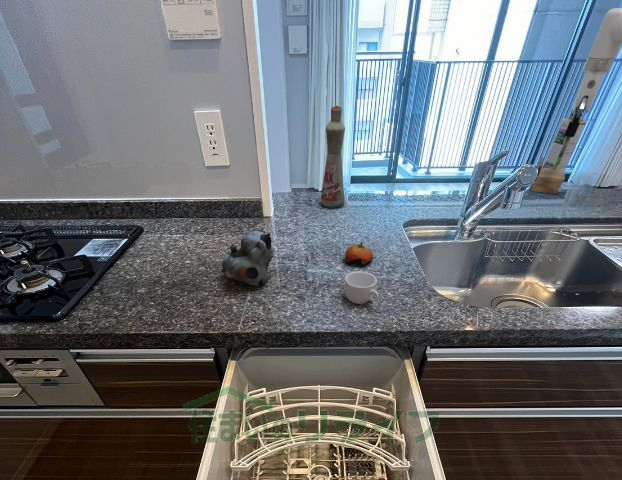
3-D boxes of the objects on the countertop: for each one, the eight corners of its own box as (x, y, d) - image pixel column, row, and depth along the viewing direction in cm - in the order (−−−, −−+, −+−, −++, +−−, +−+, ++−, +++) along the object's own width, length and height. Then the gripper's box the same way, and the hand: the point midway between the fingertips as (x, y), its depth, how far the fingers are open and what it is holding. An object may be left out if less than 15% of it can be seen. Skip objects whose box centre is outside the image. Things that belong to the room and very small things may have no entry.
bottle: (349, 206, 132) (355, 106, 111) (327, 210, 129) (329, 109, 108) (337, 198, 137) (342, 101, 116) (316, 202, 134) (316, 104, 113)
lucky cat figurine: (220, 269, 102) (232, 216, 96) (261, 283, 106) (276, 232, 100) (219, 280, 89) (233, 220, 83) (266, 295, 93) (283, 239, 87)
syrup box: (542, 166, 138) (562, 118, 127) (554, 164, 140) (574, 116, 129) (554, 170, 135) (575, 121, 124) (566, 168, 136) (588, 119, 125)
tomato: (381, 258, 102) (367, 241, 97) (364, 279, 104) (349, 263, 99) (366, 251, 108) (352, 234, 103) (351, 270, 109) (336, 255, 105)
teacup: (337, 298, 92) (338, 278, 88) (359, 287, 95) (361, 268, 91) (365, 315, 87) (367, 295, 83) (387, 304, 90) (390, 283, 86)
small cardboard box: (558, 184, 145) (569, 160, 139) (557, 194, 138) (569, 169, 131) (531, 181, 148) (541, 157, 141) (529, 190, 141) (539, 166, 134)
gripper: (612, 69, 110) (580, 140, 123) (609, 63, 120) (580, 129, 134) (585, 68, 112) (556, 138, 125) (584, 62, 122) (558, 127, 136)
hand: (569, 133), depth 129 cm, fingers closed on syrup box, 8 cm apart
